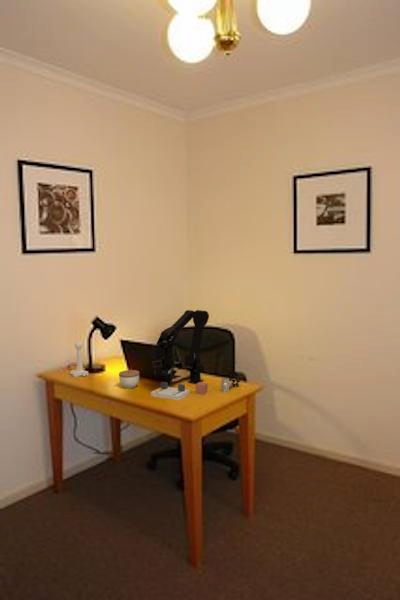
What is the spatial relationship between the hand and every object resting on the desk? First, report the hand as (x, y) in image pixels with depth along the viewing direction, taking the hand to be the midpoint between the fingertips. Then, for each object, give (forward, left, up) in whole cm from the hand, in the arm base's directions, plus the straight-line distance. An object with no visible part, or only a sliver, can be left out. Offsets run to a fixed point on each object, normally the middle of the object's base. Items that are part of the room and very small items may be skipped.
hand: (169, 384), depth 241 cm
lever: (+5, +10, 0) cm, 11 cm away
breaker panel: (+7, +5, -3) cm, 9 cm away
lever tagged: (+5, 0, 0) cm, 5 cm away
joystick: (-2, -63, -3) cm, 63 cm away
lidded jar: (+4, -22, -3) cm, 23 cm away
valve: (-13, +28, -3) cm, 31 cm away
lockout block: (-2, +18, -3) cm, 18 cm away
